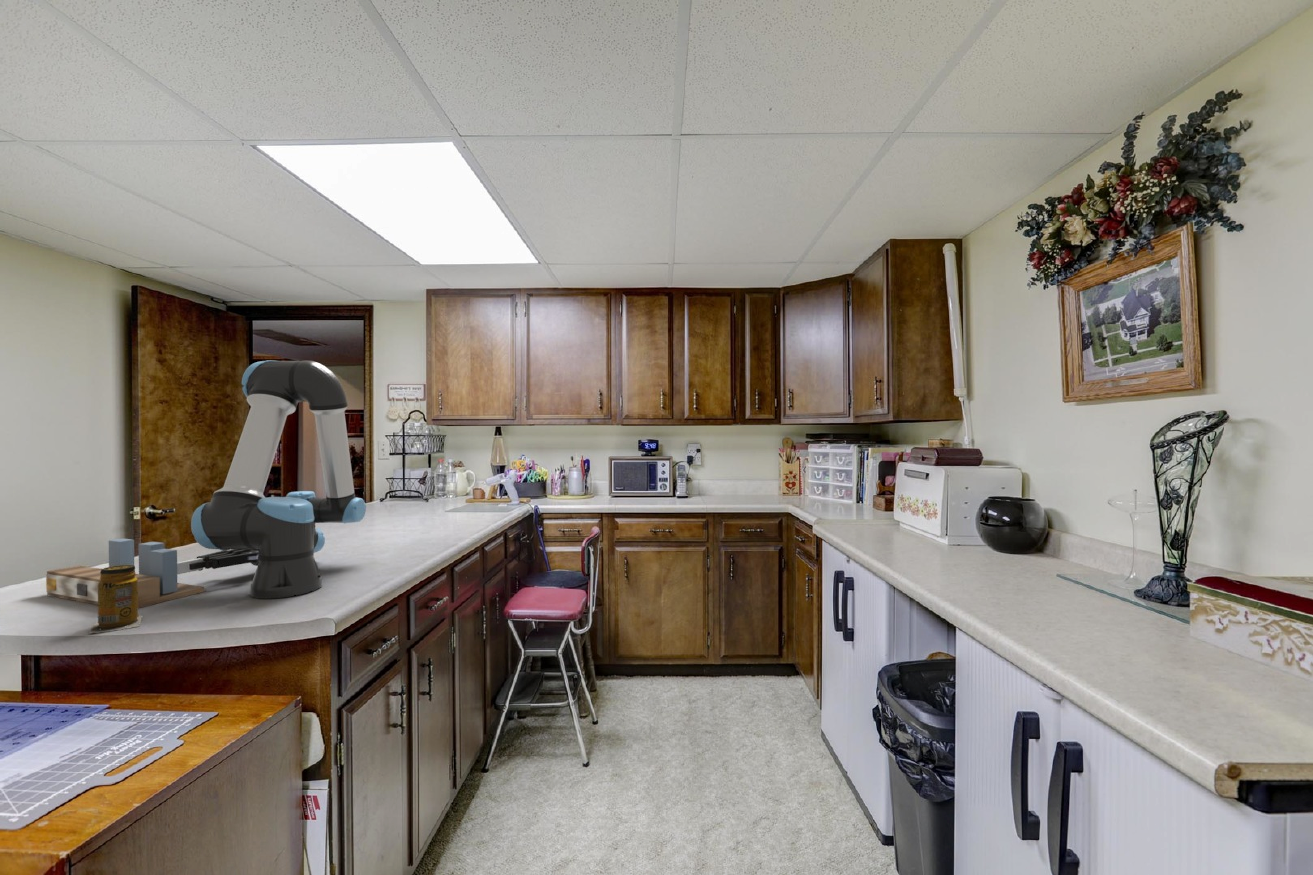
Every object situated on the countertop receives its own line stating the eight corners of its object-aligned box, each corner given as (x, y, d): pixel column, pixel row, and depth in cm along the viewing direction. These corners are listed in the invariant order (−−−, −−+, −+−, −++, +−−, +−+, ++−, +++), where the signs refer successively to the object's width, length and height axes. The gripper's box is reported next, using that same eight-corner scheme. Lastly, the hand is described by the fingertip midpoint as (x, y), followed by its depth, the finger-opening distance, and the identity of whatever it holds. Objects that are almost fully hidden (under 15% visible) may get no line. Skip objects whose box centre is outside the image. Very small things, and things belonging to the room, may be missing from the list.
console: (204, 591, 139) (204, 567, 139) (123, 611, 124) (123, 584, 124) (125, 579, 151) (125, 557, 150) (42, 596, 135) (42, 571, 135)
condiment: (142, 616, 121) (141, 561, 121) (138, 626, 114) (138, 569, 114) (95, 623, 116) (94, 567, 116) (88, 635, 110) (87, 575, 109)
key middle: (165, 581, 143) (164, 542, 143) (151, 584, 140) (150, 545, 140) (153, 579, 145) (152, 541, 145) (139, 582, 142) (138, 543, 142)
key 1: (134, 576, 148) (134, 539, 147) (120, 579, 145) (119, 541, 145) (123, 575, 149) (122, 538, 149) (109, 577, 146) (108, 540, 146)
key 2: (177, 590, 134) (177, 550, 134) (162, 594, 132) (162, 552, 132) (164, 588, 136) (164, 548, 136) (149, 592, 133) (149, 551, 133)
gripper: (284, 564, 155) (189, 587, 133) (253, 561, 160) (155, 582, 138) (284, 538, 155) (188, 556, 133) (252, 535, 160) (155, 552, 138)
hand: (171, 569), depth 136 cm, fingers closed
